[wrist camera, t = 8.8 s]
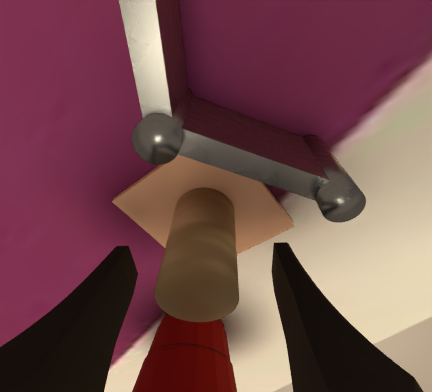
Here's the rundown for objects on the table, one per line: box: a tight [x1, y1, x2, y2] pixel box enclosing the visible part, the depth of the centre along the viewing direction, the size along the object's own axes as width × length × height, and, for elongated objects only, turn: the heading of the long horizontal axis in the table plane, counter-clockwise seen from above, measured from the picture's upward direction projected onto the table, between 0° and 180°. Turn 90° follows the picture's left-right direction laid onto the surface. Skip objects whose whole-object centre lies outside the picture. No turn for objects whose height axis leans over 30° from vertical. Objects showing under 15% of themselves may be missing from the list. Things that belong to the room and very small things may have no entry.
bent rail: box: [119, 0, 366, 222], centre depth 10 cm, size 14×6×5 cm, turn 37°
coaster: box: [112, 155, 294, 254], centre depth 17 cm, size 8×8×1 cm
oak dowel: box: [154, 187, 239, 322], centre depth 14 cm, size 4×4×6 cm
